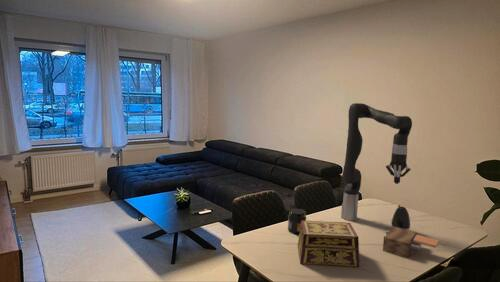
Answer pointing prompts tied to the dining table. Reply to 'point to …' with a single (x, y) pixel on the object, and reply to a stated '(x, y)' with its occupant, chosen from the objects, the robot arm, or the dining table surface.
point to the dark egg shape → (401, 218)
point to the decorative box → (328, 244)
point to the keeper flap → (425, 241)
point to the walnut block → (399, 241)
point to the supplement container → (295, 220)
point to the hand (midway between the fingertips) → (396, 183)
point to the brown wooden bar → (413, 244)
